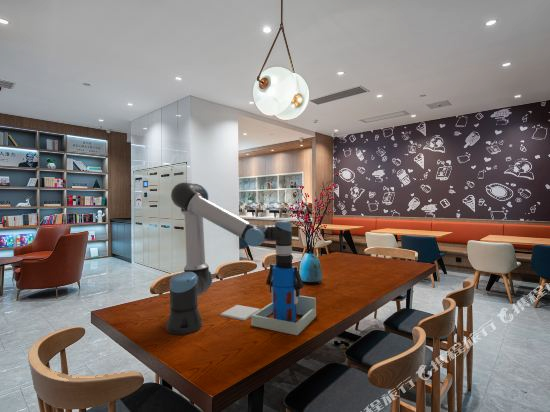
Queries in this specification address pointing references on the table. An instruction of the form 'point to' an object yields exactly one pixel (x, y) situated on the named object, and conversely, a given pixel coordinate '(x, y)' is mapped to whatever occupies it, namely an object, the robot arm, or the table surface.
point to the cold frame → (303, 307)
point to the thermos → (284, 294)
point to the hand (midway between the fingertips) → (284, 301)
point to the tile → (240, 312)
